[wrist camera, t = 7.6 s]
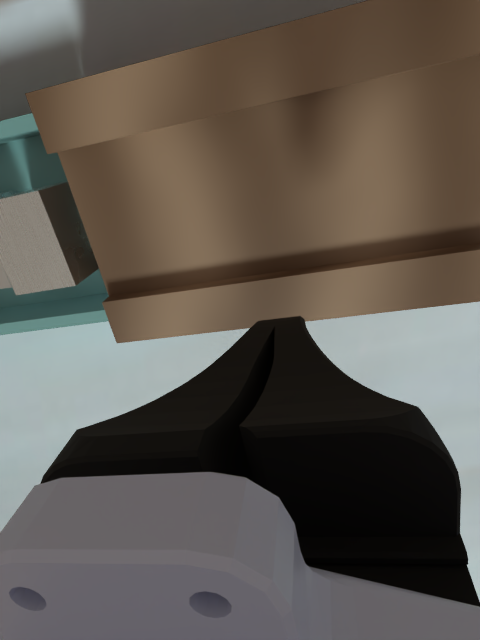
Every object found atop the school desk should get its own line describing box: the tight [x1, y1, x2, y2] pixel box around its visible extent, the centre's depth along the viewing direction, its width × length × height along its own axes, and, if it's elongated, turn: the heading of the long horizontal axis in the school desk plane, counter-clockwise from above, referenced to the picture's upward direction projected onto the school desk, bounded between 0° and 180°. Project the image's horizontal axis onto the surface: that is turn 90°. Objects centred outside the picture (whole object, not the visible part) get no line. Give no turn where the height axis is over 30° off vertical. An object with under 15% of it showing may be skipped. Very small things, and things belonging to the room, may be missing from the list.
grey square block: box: [0, 181, 99, 295], centre depth 19 cm, size 4×4×3 cm
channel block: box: [25, 0, 480, 343], centre depth 17 cm, size 15×10×5 cm, turn 102°
